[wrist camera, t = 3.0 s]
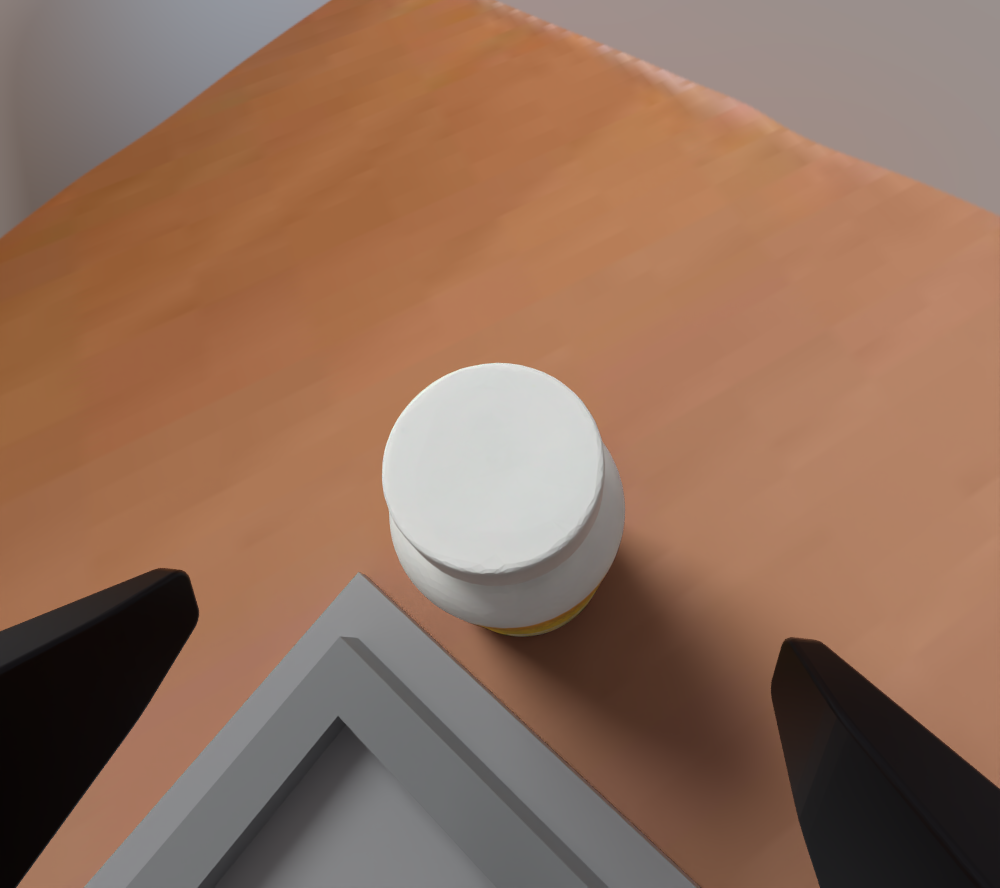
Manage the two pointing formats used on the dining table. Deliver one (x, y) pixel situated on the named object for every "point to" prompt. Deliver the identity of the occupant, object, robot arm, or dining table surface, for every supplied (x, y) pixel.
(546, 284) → the dining table surface
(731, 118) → the dining table surface
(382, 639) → the tray
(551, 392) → the supplement bottle
